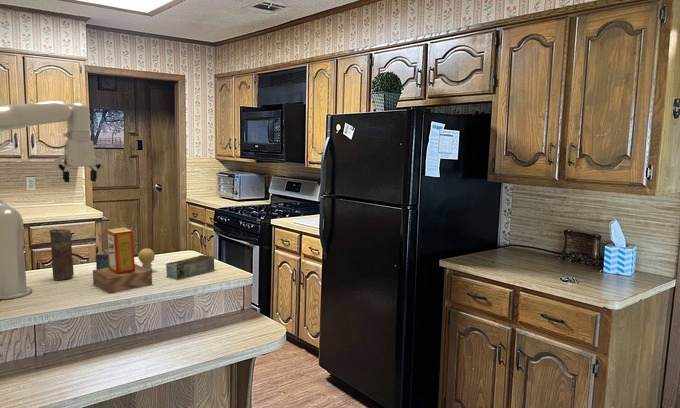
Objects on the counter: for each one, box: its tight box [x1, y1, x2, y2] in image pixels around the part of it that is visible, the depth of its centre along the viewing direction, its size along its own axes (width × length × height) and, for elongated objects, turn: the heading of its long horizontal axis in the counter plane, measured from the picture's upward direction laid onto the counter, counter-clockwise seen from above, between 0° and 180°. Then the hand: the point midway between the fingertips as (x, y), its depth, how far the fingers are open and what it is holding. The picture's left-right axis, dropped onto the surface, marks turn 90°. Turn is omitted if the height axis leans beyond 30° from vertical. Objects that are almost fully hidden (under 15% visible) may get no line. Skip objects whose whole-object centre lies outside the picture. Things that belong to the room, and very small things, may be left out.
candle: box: [49, 228, 75, 281], centre depth 199 cm, size 8×7×20 cm
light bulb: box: [138, 248, 155, 272], centre depth 211 cm, size 6×6×10 cm
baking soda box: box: [105, 227, 136, 274], centre depth 191 cm, size 10×6×16 cm
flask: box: [95, 248, 109, 270], centre depth 206 cm, size 9×3×11 cm, turn 88°
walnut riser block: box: [92, 263, 153, 294], centre depth 193 cm, size 16×16×6 cm
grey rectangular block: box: [165, 254, 215, 281], centre depth 209 cm, size 8×19×7 cm, turn 142°
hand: (80, 181), depth 191 cm, fingers open, 9 cm apart
